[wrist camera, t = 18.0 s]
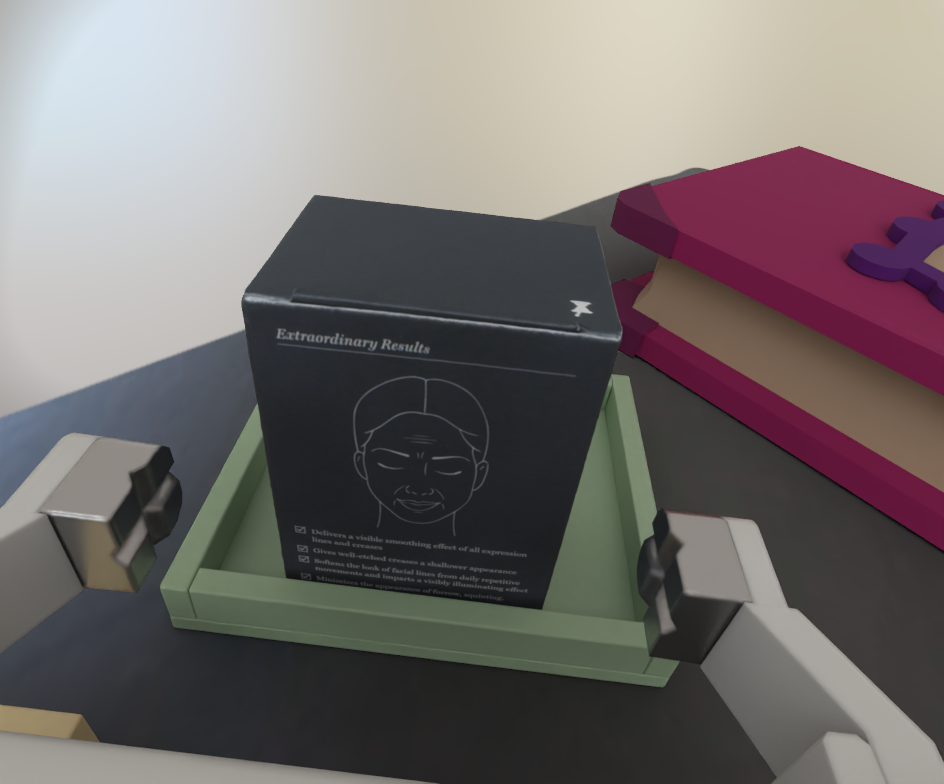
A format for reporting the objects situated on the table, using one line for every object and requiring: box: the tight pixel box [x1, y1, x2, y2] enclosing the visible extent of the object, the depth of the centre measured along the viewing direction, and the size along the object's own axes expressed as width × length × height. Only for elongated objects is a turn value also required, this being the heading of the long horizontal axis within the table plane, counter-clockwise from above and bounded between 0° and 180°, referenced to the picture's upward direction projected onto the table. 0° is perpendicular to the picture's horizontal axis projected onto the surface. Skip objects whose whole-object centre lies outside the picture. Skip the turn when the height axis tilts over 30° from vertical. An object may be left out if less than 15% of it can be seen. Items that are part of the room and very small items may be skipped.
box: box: [242, 195, 622, 610], centre depth 18 cm, size 8×6×11 cm
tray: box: [160, 374, 680, 687], centre depth 23 cm, size 15×13×2 cm
